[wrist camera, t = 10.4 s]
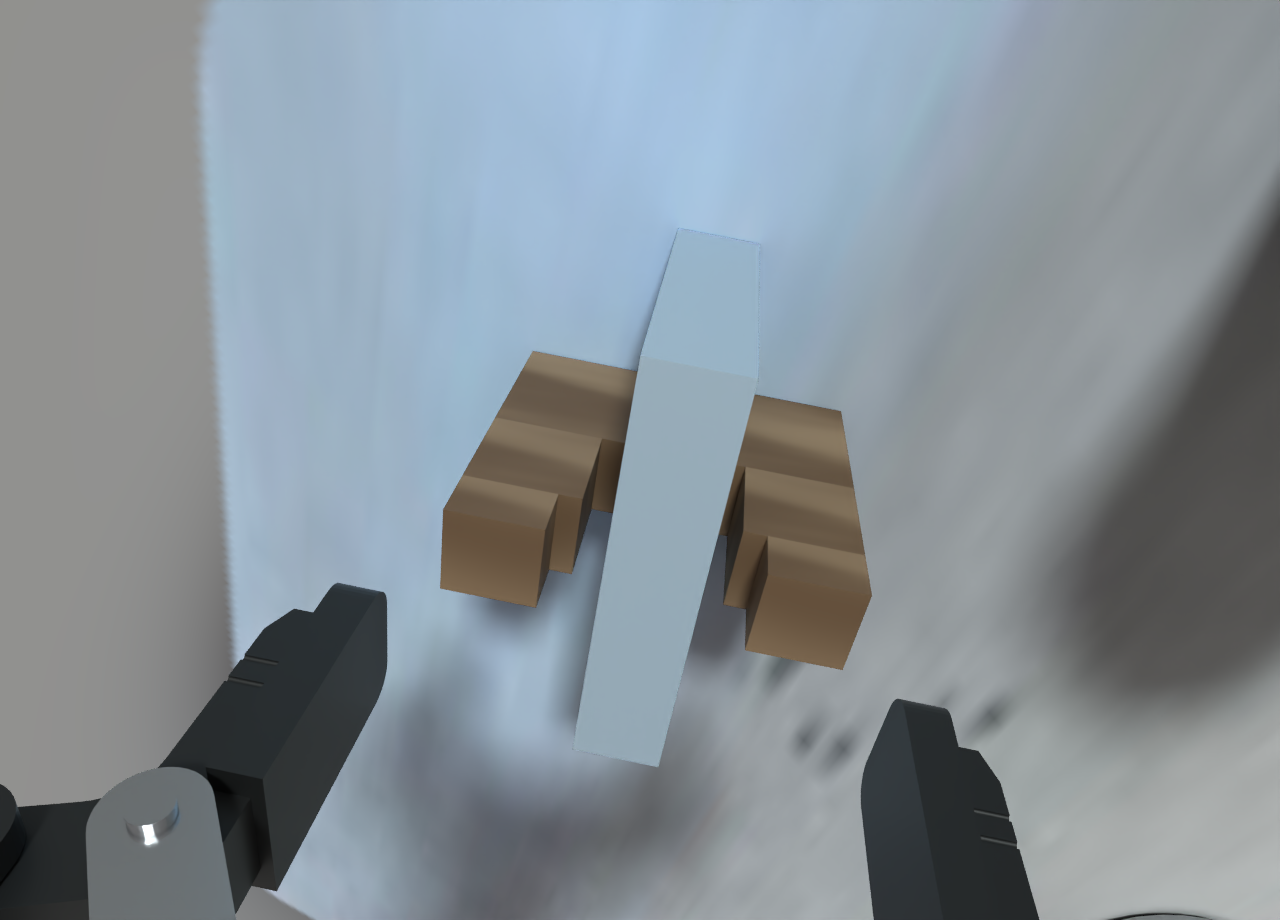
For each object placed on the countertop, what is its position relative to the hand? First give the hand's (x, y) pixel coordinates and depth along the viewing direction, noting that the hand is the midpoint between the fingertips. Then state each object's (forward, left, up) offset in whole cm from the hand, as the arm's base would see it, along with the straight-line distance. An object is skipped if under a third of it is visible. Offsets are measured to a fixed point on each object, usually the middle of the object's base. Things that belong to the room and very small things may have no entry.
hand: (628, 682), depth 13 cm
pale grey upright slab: (-3, 0, -15) cm, 15 cm away
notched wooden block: (-3, 0, -15) cm, 15 cm away
